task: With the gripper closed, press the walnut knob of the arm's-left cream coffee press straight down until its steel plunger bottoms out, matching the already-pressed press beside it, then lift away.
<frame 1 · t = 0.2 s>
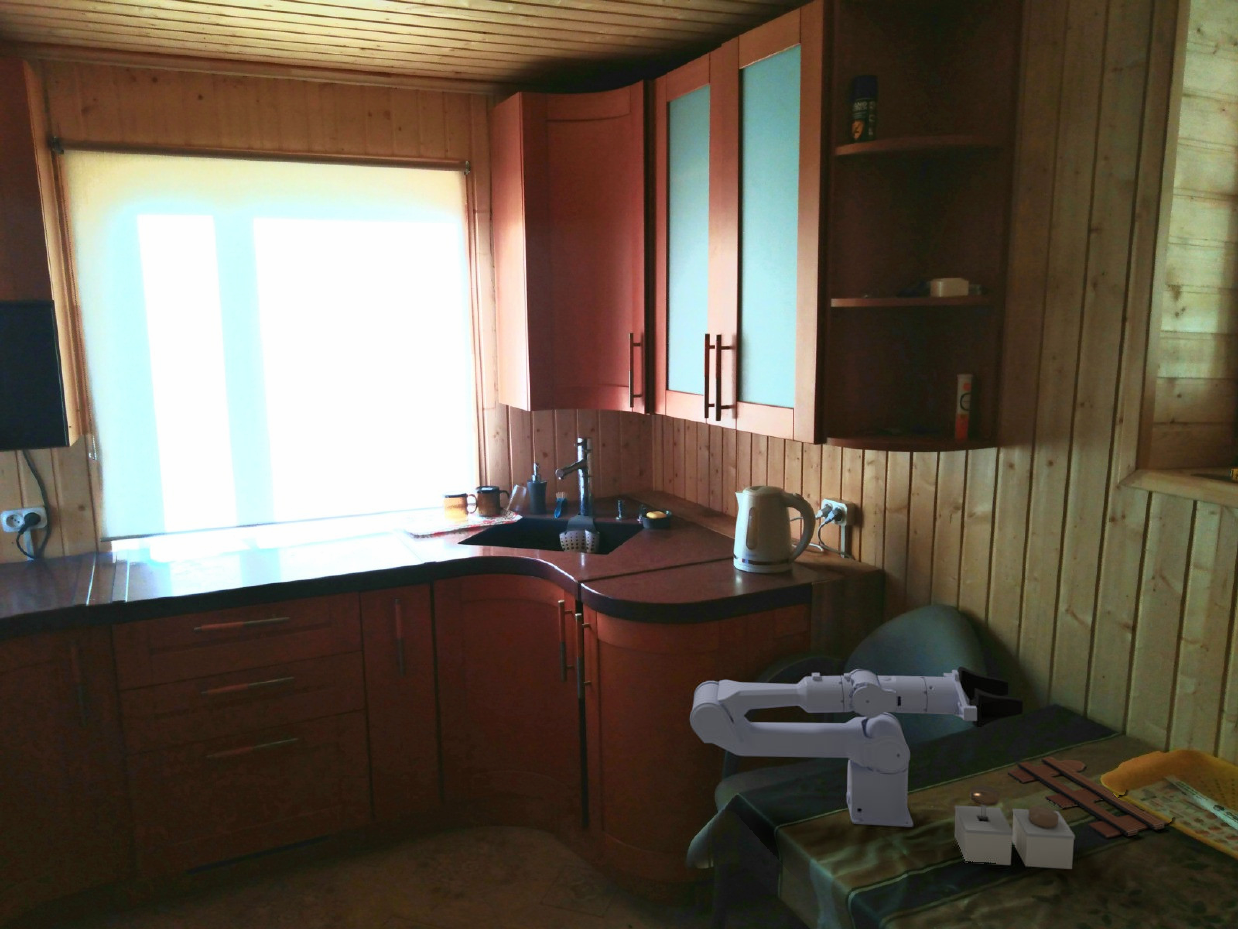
hand: (1014, 697, 133), 21 cm above the table, tool horizontal, fingers open, 7 cm apart
decorative fence: (1088, 801, 144), on the table
left press: (981, 851, 129), on the table
pressed press: (1041, 854, 128), on the table
left press plunger: (983, 810, 128), point 7 cm above the table, slide at 0.0 cm
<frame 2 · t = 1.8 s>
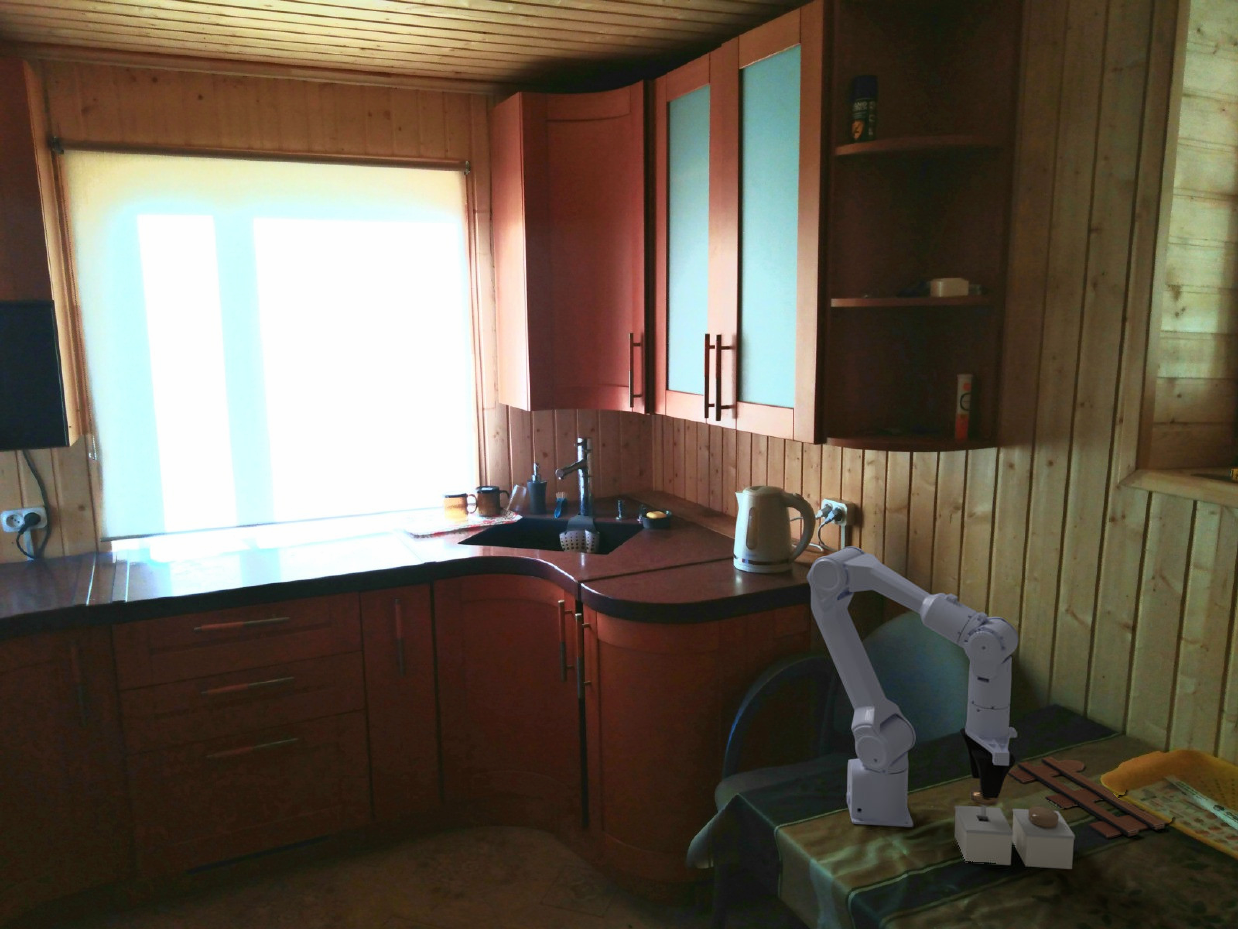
hand: (984, 787, 127), 10 cm above the table, tool pointing down, fingers open, 5 cm apart
nothing on the table moved.
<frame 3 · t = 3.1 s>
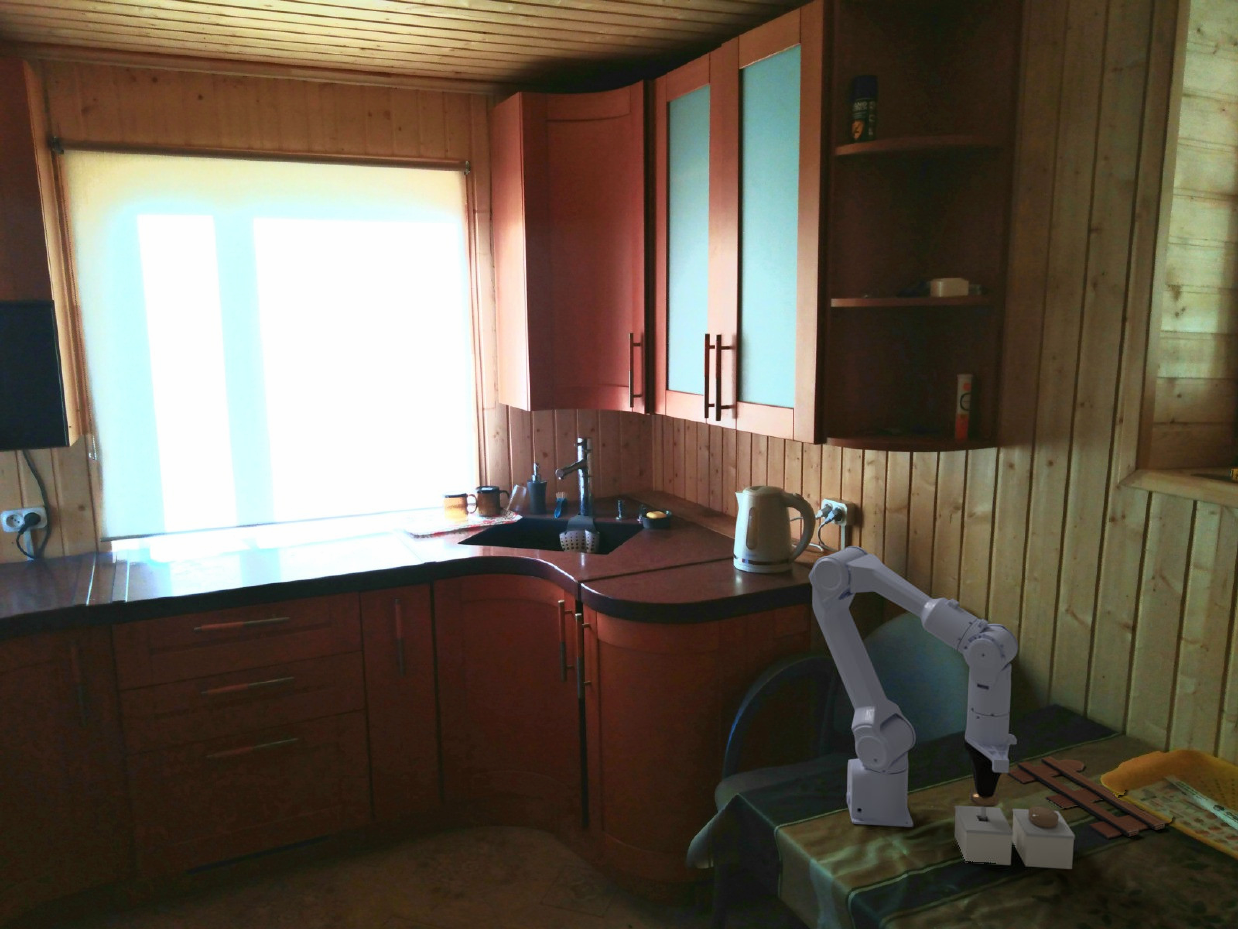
hand: (984, 793, 128), 9 cm above the table, tool pointing down, fingers closed, pressing on left press plunger
left press plunger: (983, 811, 128), point 6 cm above the table, slide at 0.3 cm, touching gripper
everything else where it was.
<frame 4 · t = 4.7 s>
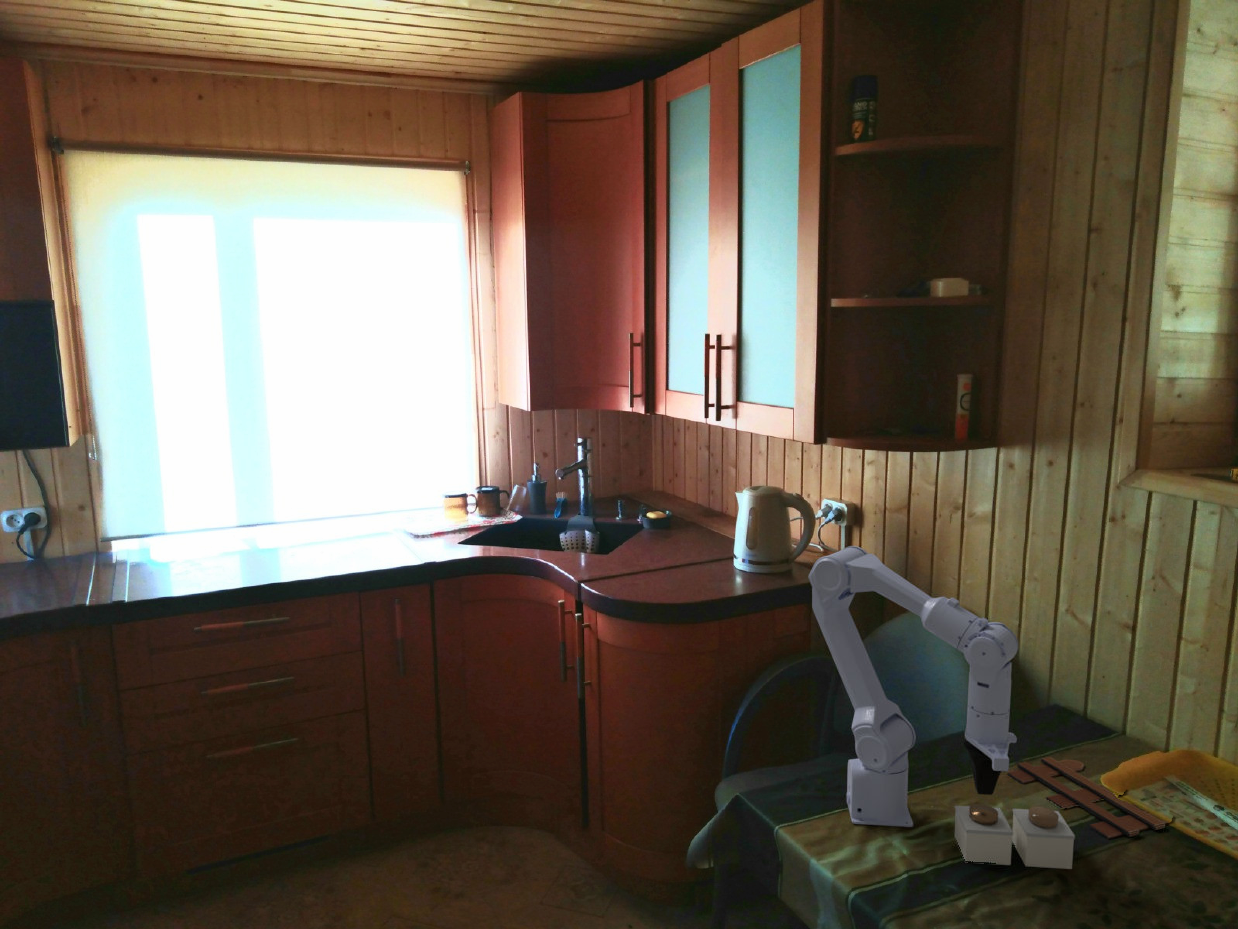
hand: (984, 792, 128), 10 cm above the table, tool pointing down, fingers closed
left press plunger: (982, 829, 128), point 4 cm above the table, slide at 3.1 cm
everything else where it was.
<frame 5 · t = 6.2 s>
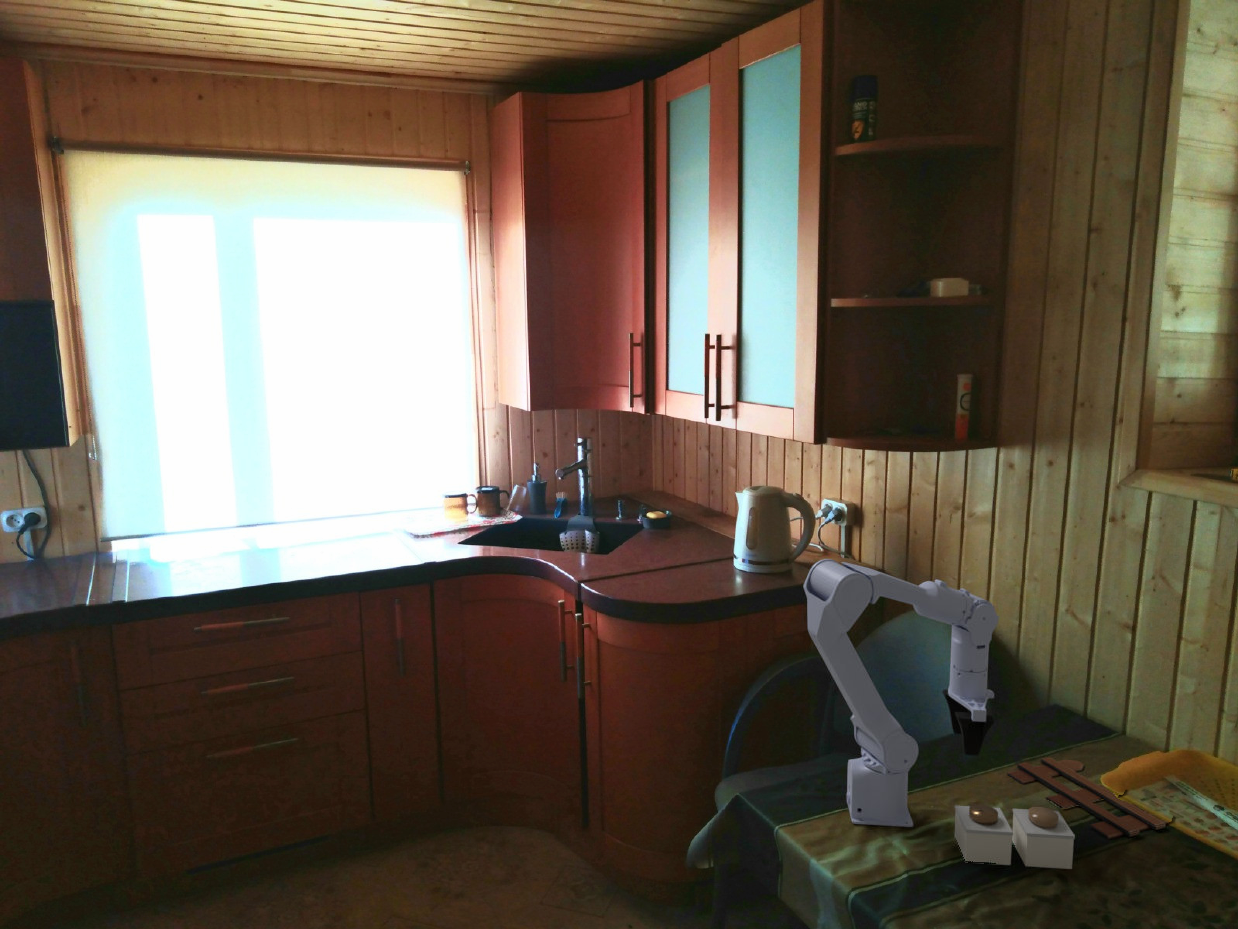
hand: (965, 743, 142), 10 cm above the table, tool pointing down, fingers open, 7 cm apart
nothing on the table moved.
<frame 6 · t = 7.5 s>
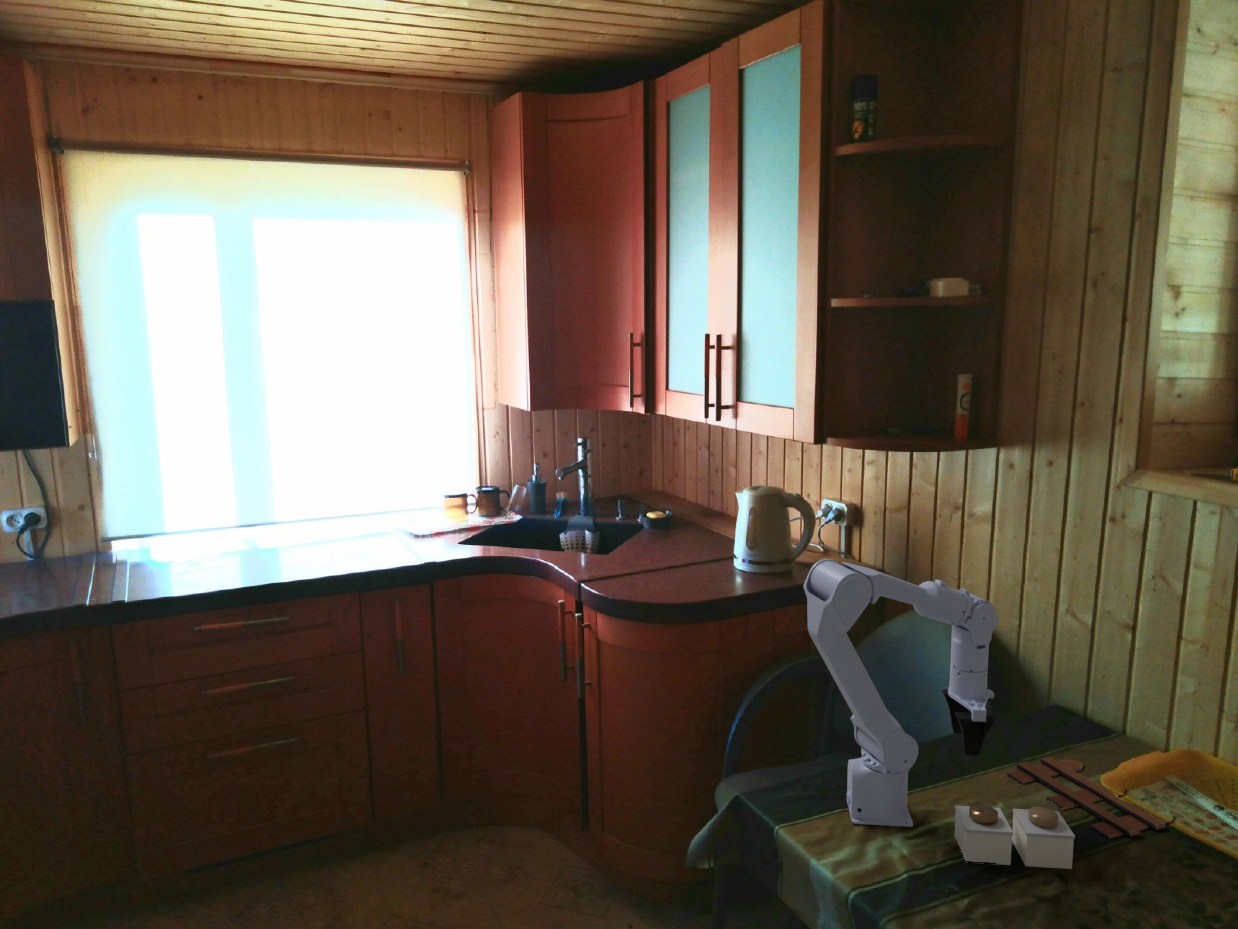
hand: (965, 743, 142), 10 cm above the table, tool pointing down, fingers open, 7 cm apart
nothing on the table moved.
at the end: left press plunger slide at 3.1 cm; decorative fence moved 1.0 cm from its start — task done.
